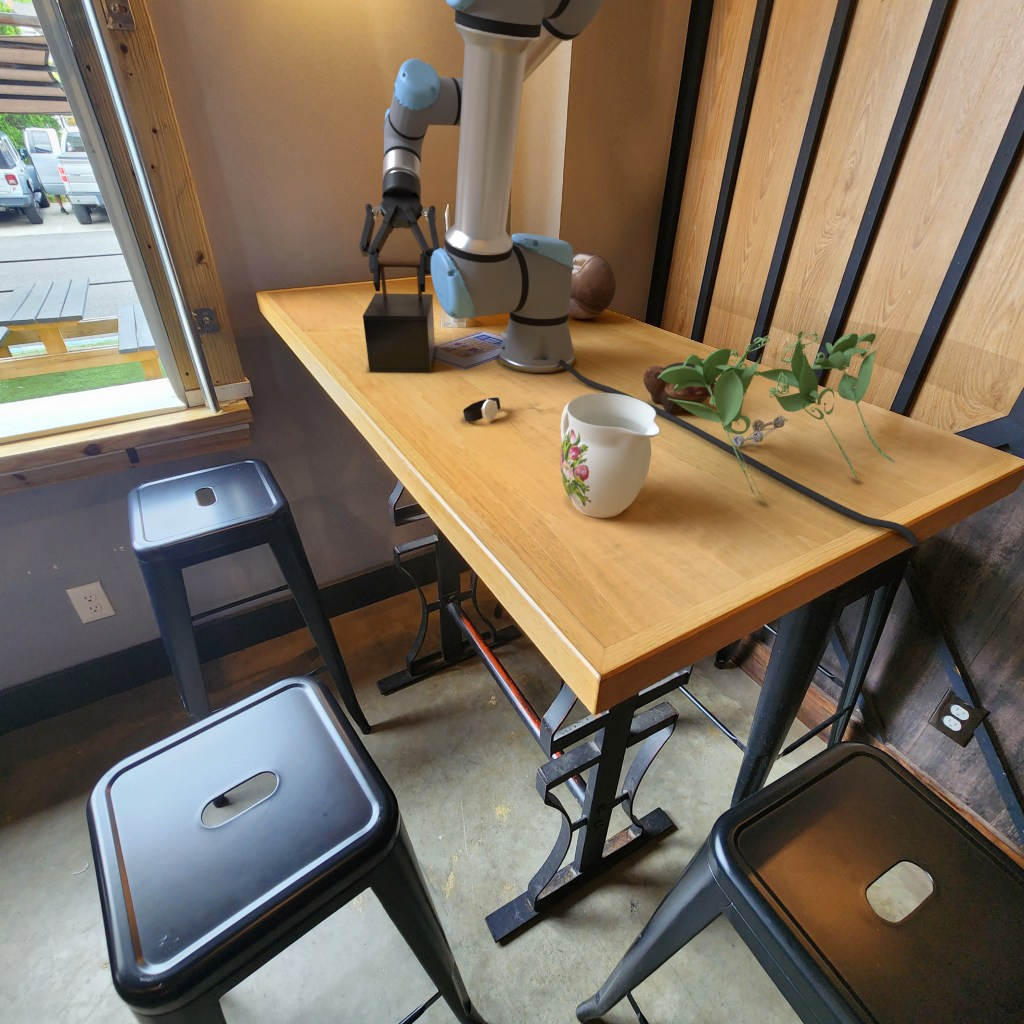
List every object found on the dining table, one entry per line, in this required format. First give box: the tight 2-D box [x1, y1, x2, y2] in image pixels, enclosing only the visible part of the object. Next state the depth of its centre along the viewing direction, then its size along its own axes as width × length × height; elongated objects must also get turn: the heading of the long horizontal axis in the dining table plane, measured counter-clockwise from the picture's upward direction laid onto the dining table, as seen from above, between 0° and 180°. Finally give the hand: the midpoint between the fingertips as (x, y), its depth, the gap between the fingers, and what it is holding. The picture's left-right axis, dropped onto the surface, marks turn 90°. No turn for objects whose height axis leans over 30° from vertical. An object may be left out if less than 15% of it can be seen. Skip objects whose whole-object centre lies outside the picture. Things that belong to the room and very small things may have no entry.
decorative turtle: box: [642, 361, 717, 415], centre depth 97 cm, size 10×15×8 cm, turn 111°
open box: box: [362, 299, 436, 373], centre depth 112 cm, size 15×12×10 cm
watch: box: [462, 397, 501, 423], centre depth 93 cm, size 8×5×4 cm, turn 143°
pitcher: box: [559, 392, 661, 519], centre depth 71 cm, size 11×18×14 cm, turn 27°
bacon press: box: [362, 255, 434, 321], centre depth 107 cm, size 15×12×8 cm
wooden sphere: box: [568, 252, 617, 320], centre depth 138 cm, size 15×15×15 cm
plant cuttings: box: [658, 330, 896, 501], centre depth 80 cm, size 35×17×22 cm
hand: (399, 287), depth 109 cm, fingers closed on bacon press, 8 cm apart
